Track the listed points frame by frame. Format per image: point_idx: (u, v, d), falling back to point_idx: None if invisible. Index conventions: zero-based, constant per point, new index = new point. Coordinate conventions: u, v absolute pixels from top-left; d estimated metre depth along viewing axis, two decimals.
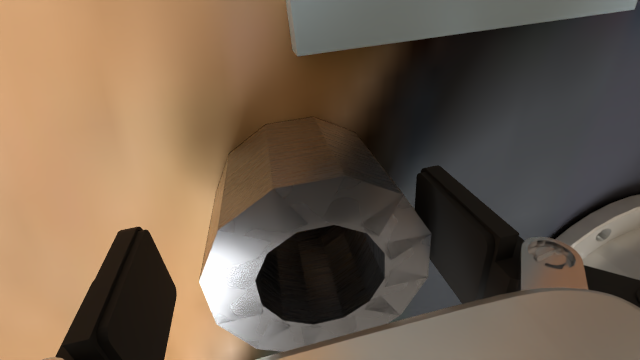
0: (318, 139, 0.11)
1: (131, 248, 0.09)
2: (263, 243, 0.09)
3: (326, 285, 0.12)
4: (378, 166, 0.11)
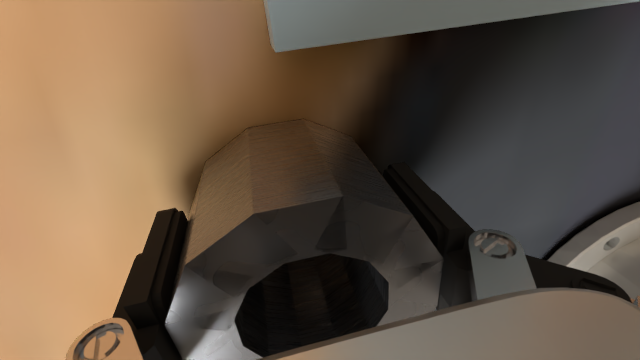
0: (309, 147, 0.09)
1: (171, 226, 0.10)
2: (243, 277, 0.07)
3: (319, 312, 0.11)
4: (380, 178, 0.09)
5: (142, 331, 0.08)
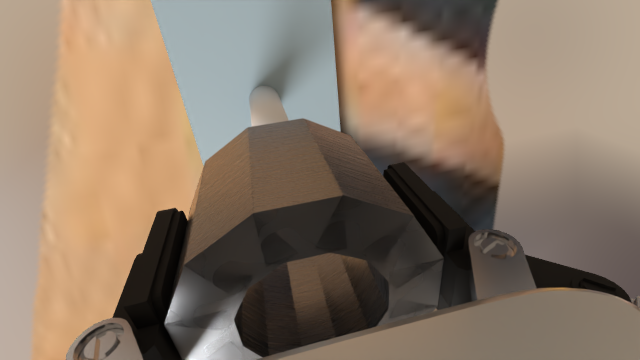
0: (309, 146, 0.09)
1: (171, 226, 0.10)
2: (242, 277, 0.07)
3: (319, 312, 0.11)
4: (380, 177, 0.09)
5: (142, 331, 0.08)
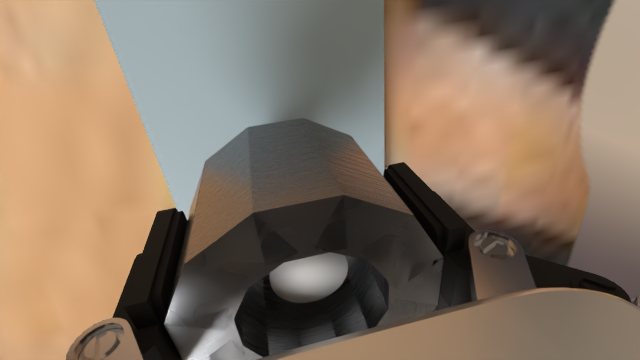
0: (309, 145, 0.09)
1: (171, 226, 0.10)
2: (242, 276, 0.07)
3: (319, 312, 0.11)
4: (380, 177, 0.09)
5: (142, 331, 0.08)
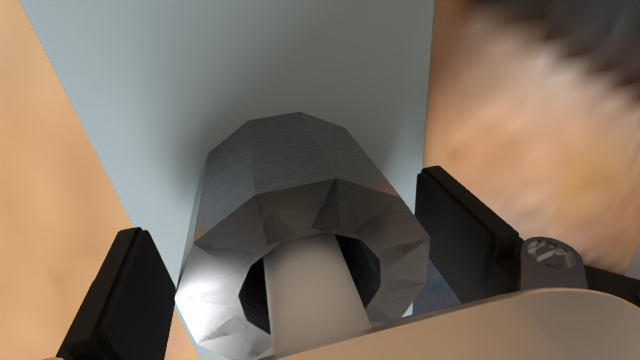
0: (305, 136, 0.10)
1: (131, 248, 0.09)
2: (246, 254, 0.08)
3: None
4: (372, 164, 0.10)
5: None
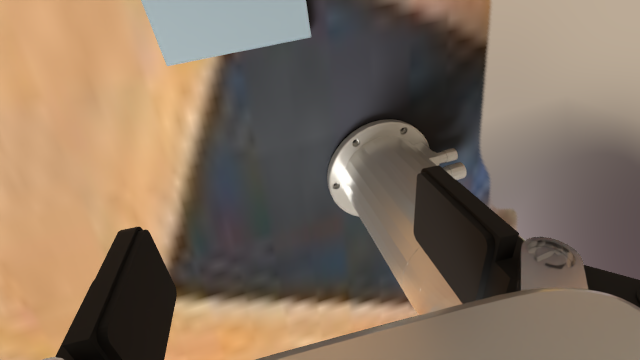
0: None
1: (131, 248, 0.09)
2: None
3: None
4: None
5: None
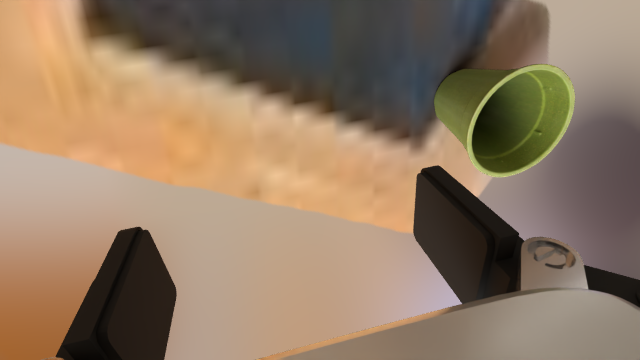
0: None
1: (131, 248, 0.09)
2: None
3: None
4: None
5: None
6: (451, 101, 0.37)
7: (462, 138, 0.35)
